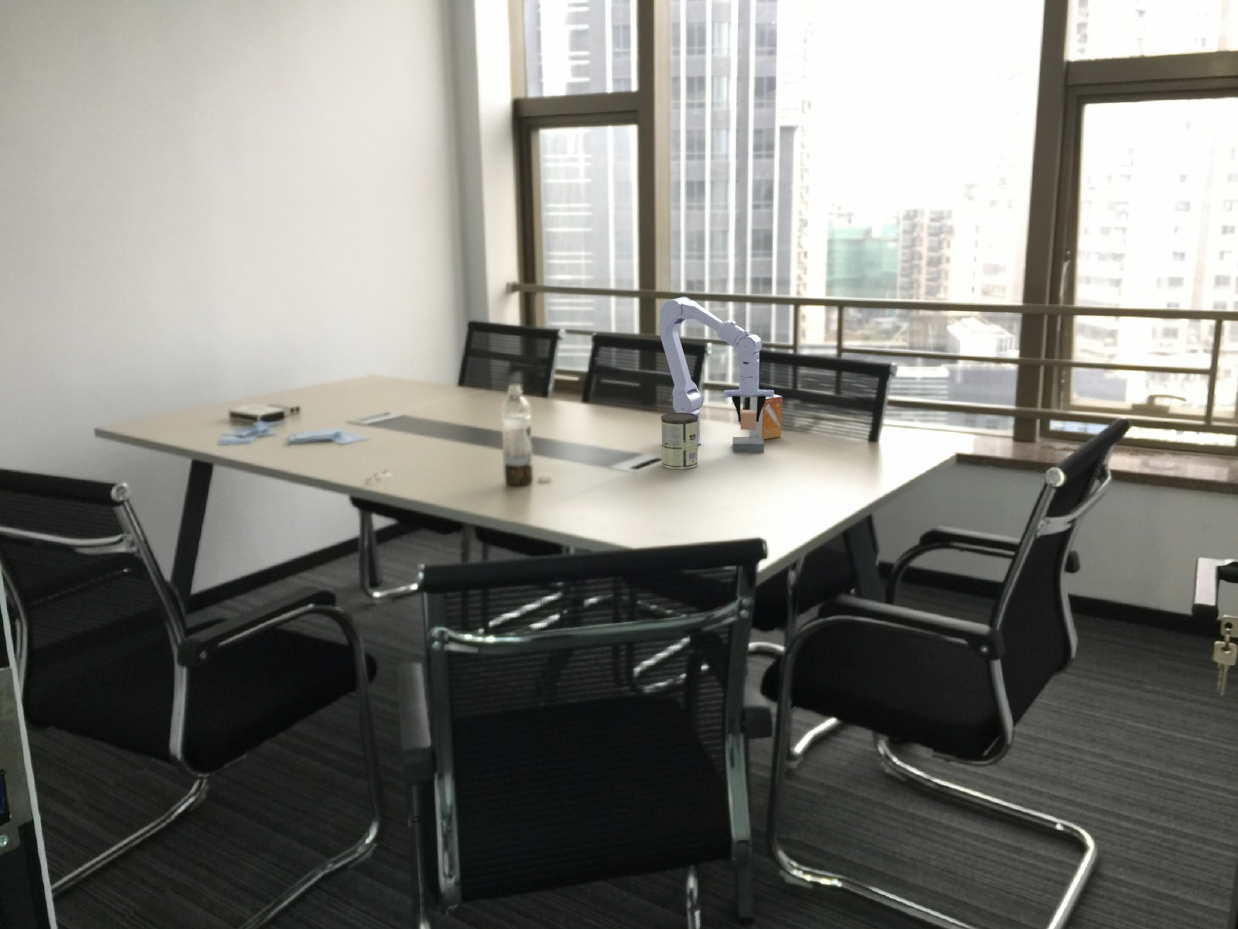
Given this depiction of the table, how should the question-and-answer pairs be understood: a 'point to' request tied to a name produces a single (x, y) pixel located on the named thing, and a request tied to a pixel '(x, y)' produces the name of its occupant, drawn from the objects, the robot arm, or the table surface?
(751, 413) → the peach block
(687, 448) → the coffee can
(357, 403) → the table surface
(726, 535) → the table surface
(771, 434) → the small box
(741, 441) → the plate
